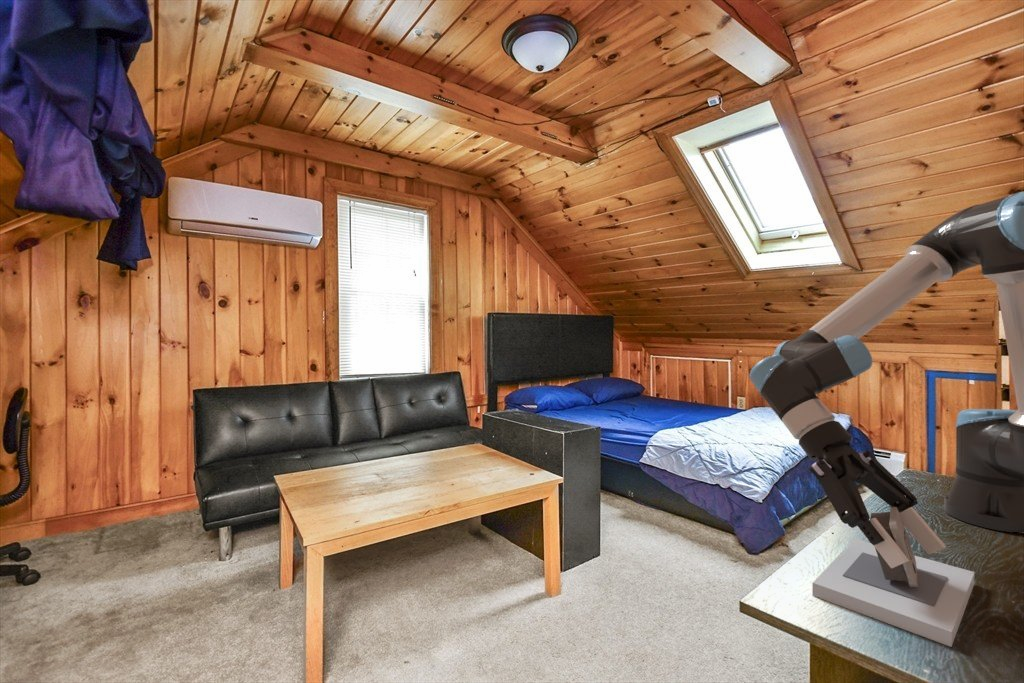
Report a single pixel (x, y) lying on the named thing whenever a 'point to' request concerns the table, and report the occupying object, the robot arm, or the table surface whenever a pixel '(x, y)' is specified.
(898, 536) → the electrical switch
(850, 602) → the mounting board
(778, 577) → the table surface
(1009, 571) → the table surface
